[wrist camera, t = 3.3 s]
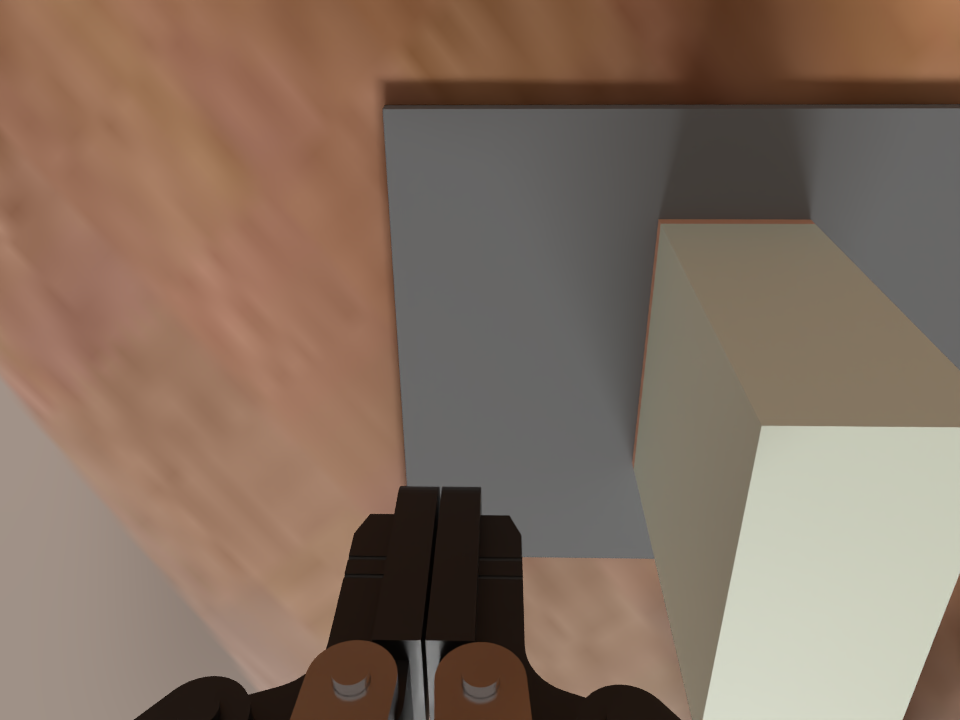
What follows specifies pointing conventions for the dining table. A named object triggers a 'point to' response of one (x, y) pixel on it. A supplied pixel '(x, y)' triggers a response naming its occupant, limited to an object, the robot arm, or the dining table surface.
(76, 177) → the dining table surface
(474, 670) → the robot arm
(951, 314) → the mat
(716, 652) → the cream block
